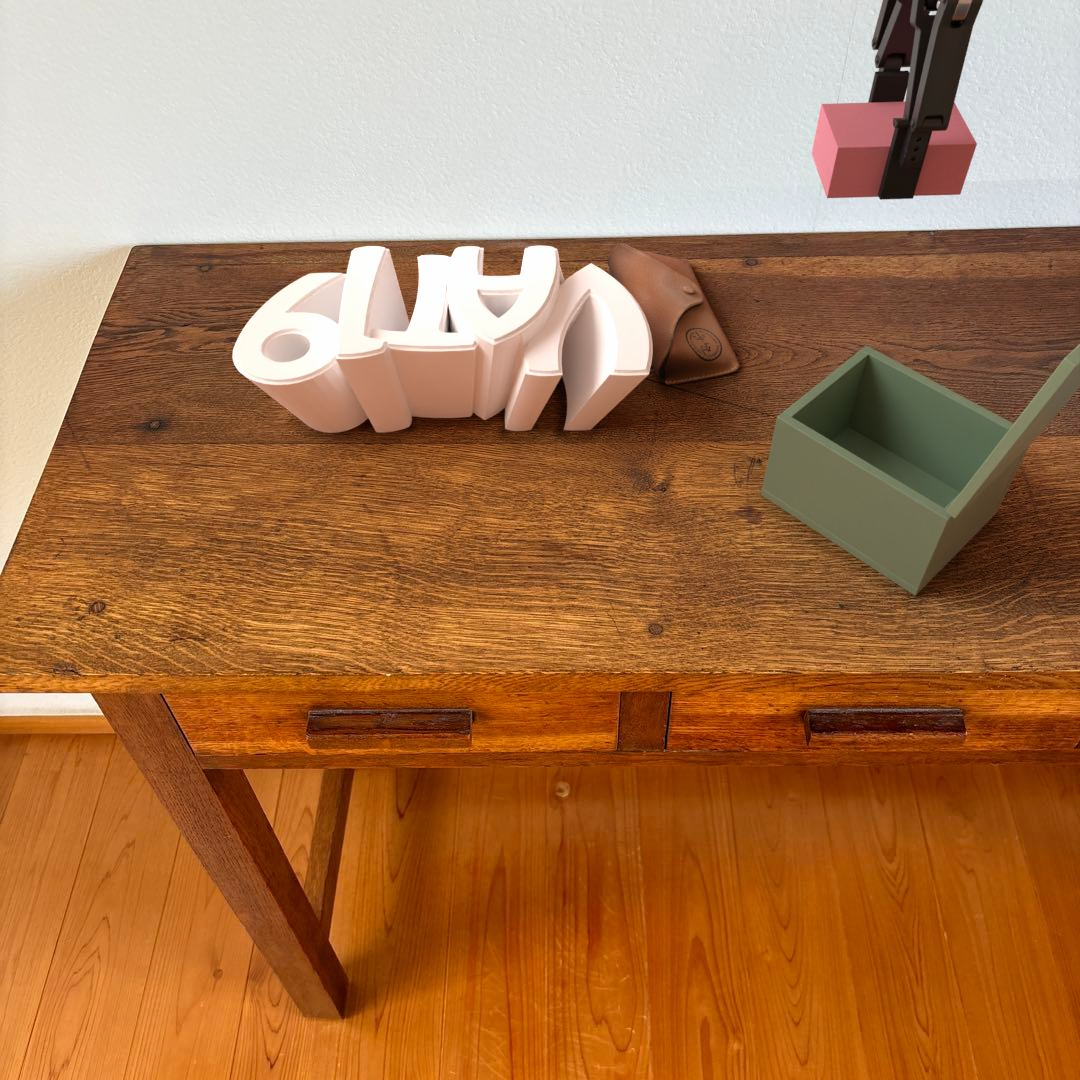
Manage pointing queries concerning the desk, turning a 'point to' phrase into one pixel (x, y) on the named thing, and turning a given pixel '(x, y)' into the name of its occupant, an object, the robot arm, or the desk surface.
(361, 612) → the desk surface
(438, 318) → the wavy white extrusion
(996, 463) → the lid
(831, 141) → the pink rectangular block
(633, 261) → the sunglasses case
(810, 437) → the box
